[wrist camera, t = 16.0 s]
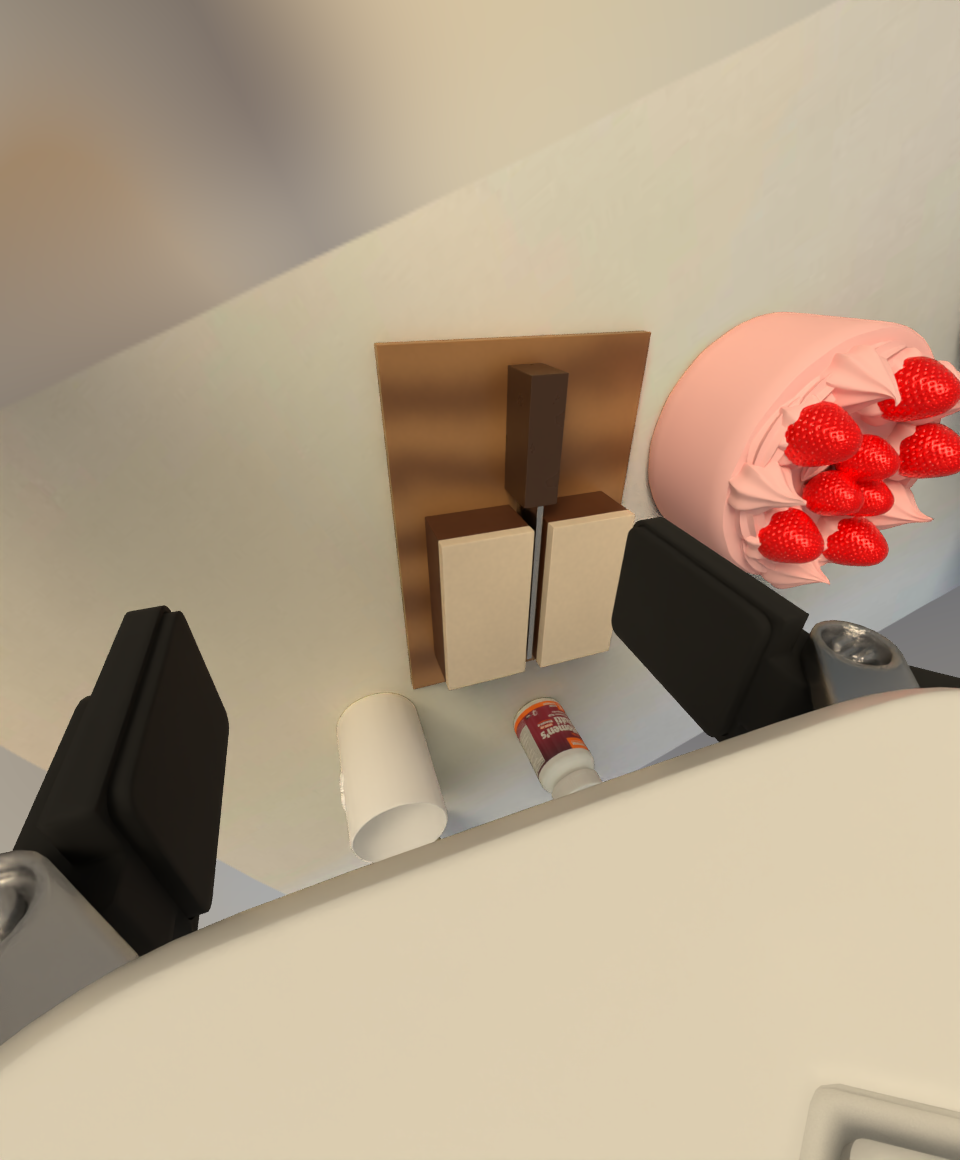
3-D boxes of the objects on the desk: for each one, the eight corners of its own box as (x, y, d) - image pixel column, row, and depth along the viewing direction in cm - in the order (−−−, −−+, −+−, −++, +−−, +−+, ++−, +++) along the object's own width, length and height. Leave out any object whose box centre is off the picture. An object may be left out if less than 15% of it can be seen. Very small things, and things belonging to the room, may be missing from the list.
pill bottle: (563, 691, 56) (617, 772, 47) (555, 727, 59) (604, 810, 50) (514, 701, 54) (560, 789, 45) (508, 738, 57) (551, 827, 48)
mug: (386, 776, 53) (409, 887, 44) (316, 725, 46) (325, 846, 36) (448, 736, 53) (484, 838, 44) (388, 678, 46) (416, 788, 36)
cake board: (373, 343, 30) (376, 345, 30) (643, 330, 36) (651, 332, 35) (411, 682, 47) (413, 689, 46) (591, 638, 52) (596, 644, 52)
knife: (507, 364, 33) (531, 375, 30) (542, 362, 34) (569, 373, 30) (499, 635, 46) (516, 662, 43) (524, 629, 47) (542, 655, 44)
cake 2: (526, 501, 39) (553, 528, 35) (601, 490, 41) (635, 514, 37) (518, 633, 47) (540, 668, 43) (582, 619, 49) (608, 650, 45)
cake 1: (424, 516, 37) (441, 546, 33) (509, 503, 39) (534, 531, 35) (434, 653, 44) (449, 691, 41) (504, 637, 46) (525, 671, 42)
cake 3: (866, 337, 43) (1072, 364, 32) (758, 537, 53) (887, 612, 41) (704, 284, 35) (899, 293, 24) (612, 528, 45) (721, 617, 34)
